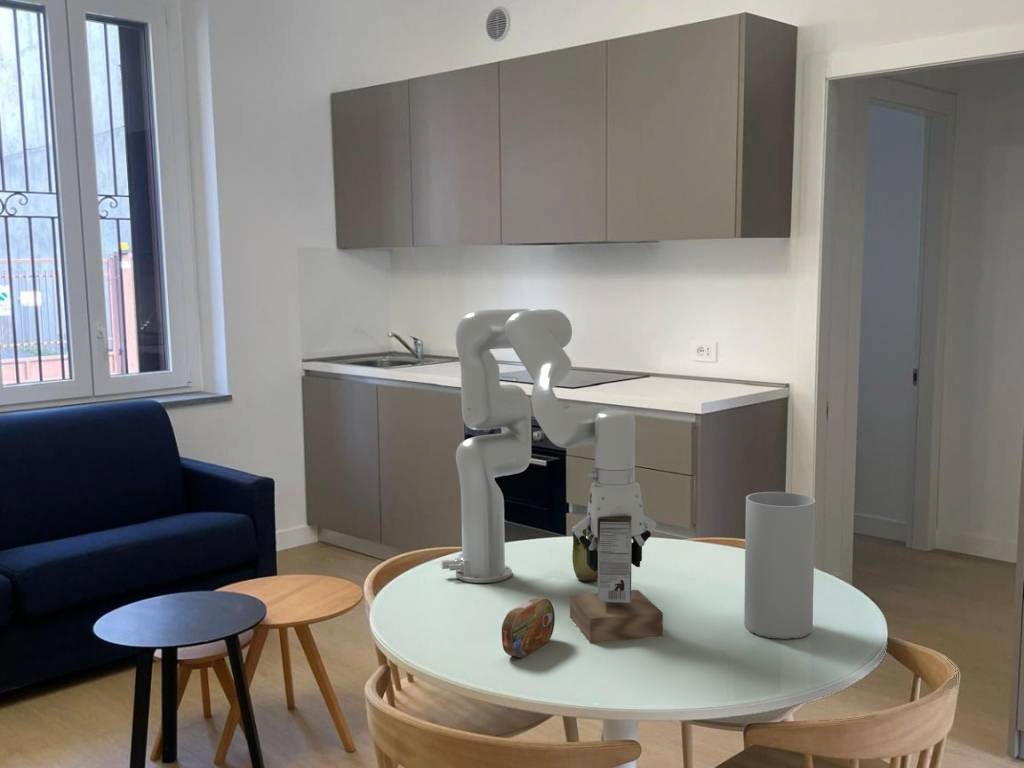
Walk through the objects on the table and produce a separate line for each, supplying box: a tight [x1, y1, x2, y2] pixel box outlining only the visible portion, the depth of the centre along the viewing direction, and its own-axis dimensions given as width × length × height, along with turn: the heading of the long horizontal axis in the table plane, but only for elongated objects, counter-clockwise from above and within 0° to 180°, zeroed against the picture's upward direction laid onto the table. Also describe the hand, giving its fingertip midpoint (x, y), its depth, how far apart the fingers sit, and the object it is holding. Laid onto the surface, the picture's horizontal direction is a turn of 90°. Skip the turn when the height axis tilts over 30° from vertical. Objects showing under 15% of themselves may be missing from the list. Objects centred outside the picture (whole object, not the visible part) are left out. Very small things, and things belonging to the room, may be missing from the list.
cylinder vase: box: [743, 491, 816, 640], centre depth 191 cm, size 12×12×25 cm
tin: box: [501, 597, 556, 659], centre depth 183 cm, size 15×3×8 cm, turn 148°
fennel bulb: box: [571, 527, 598, 583], centre depth 224 cm, size 6×5×12 cm
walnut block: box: [569, 589, 664, 644], centre depth 194 cm, size 14×14×5 cm
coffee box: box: [597, 516, 633, 603], centre depth 193 cm, size 9×6×16 cm
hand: (614, 566), depth 193 cm, fingers closed on coffee box, 8 cm apart
